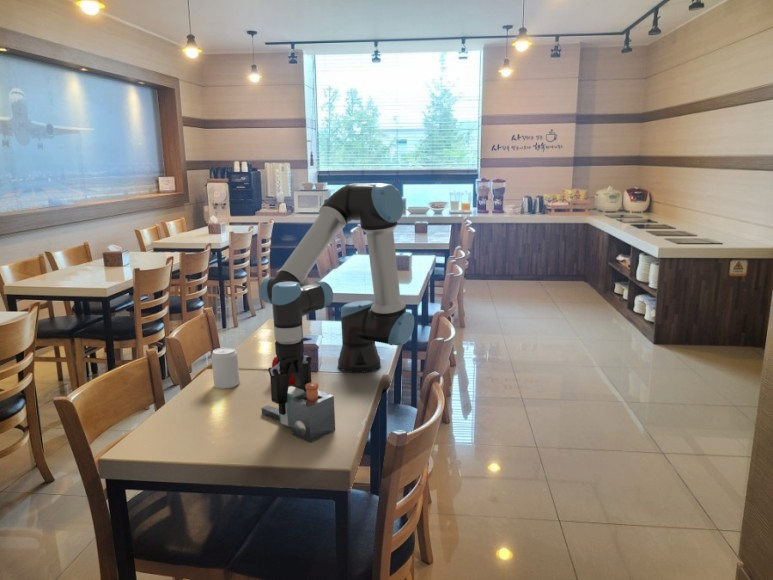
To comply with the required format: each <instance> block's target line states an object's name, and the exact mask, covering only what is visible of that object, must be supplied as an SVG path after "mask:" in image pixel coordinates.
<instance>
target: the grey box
mask: <svg viewBox="0 0 773 580" xmlns="http://www.w3.org/2000/svg"><path fill="white" fill-rule="evenodd" d="M335 411H336V410H335V396H334V394H330V393H328V392H324V391H322V390H319V389H318V400H316V401H314V402H310V401H307V394H304V395H302V396H299V397H297V398H295V399H292V400H291V415H292V427H291V429H292V430H291V431H292V436H294V437H296V438H297V439H298V438H299V439H301V440H303V441H305V442H307V443H310V444H312V443H314V442H316V441H317V440H319V439H322V438H323V437H325V436H327V435H328V434H331V433H333V432H334V431H336V416H335V413H336V412H335Z"/></svg>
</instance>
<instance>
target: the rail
mask: <svg viewBox="0 0 773 580" xmlns="http://www.w3.org/2000/svg"><path fill="white" fill-rule="evenodd" d="M261 415H263V416H265V417H268V418H270V419H273V420H276V421H277V422H279V423H280V417H279V408H277V407H274V406H271V405H269V404H268V405H265V406H263V407H261Z"/></svg>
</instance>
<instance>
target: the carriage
mask: <svg viewBox="0 0 773 580" xmlns="http://www.w3.org/2000/svg"><path fill="white" fill-rule="evenodd" d="M304 394H306V392H305V391H304V390H302V389H299V388H297V386H296V387H295V386H293V385H289V386H288V393H287V401H286V402H288V403H289V414H290V425H289V426H288V427H290V428H292V415H291V400H292V399H295V398H297V397H299V396H302V395H304ZM279 417H280V422H279V423H280V424H282V423H281V414H280V413H279Z"/></svg>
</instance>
